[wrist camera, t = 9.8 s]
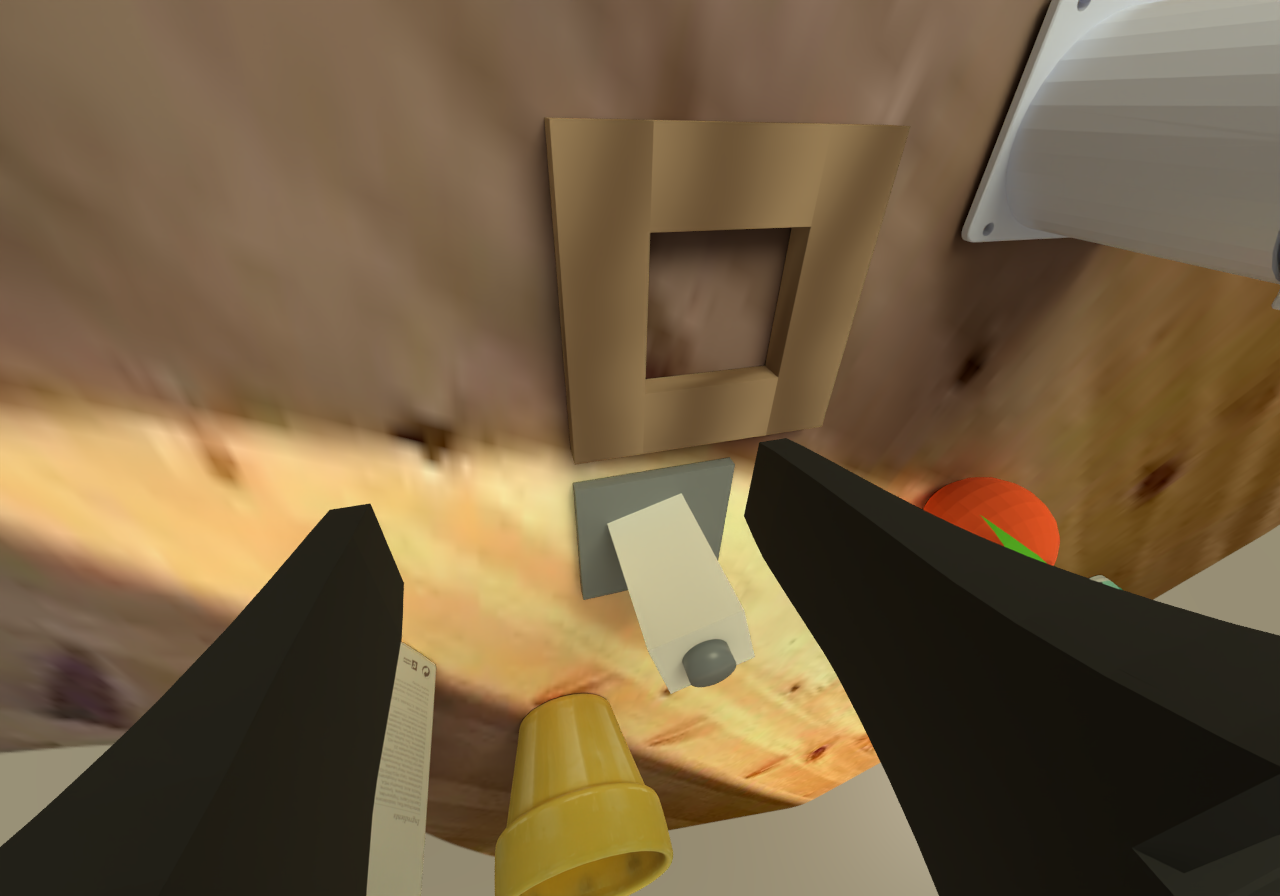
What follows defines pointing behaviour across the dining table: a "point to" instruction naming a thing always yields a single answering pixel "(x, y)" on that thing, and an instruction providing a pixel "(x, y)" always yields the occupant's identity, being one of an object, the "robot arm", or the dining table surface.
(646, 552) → the plug
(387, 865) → the skincare box
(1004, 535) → the clementine
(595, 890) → the plant pot
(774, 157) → the holder
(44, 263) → the dining table surface
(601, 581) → the coaster
